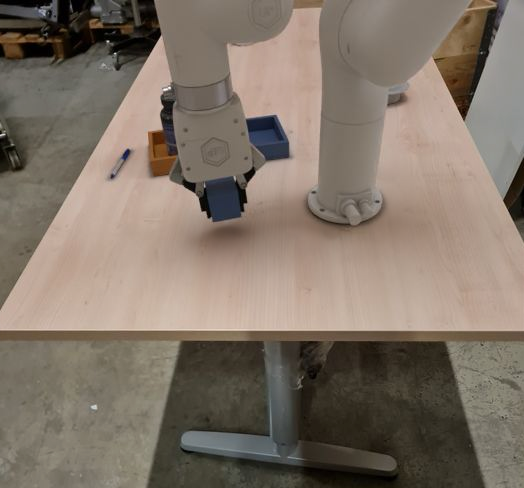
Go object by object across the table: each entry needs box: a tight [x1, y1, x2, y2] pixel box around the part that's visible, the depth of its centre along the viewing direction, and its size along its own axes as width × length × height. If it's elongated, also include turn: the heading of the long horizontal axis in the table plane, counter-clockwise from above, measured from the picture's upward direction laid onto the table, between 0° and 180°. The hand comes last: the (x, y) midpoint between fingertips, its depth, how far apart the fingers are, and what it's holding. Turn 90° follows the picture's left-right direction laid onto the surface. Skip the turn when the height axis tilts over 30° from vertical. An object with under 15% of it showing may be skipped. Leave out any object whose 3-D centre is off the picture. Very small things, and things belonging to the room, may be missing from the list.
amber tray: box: [147, 129, 187, 177], centre depth 95 cm, size 12×13×3 cm
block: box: [204, 176, 242, 224], centre depth 75 cm, size 5×5×5 cm
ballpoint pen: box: [110, 148, 131, 179], centre depth 95 cm, size 10×1×1 cm, turn 173°
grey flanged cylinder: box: [387, 81, 410, 105], centre depth 104 cm, size 12×10×10 cm
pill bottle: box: [159, 93, 178, 156], centre depth 91 cm, size 6×6×11 cm
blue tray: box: [245, 114, 290, 161], centre depth 96 cm, size 12×13×3 cm
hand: (224, 209), depth 76 cm, fingers closed on block, 4 cm apart
